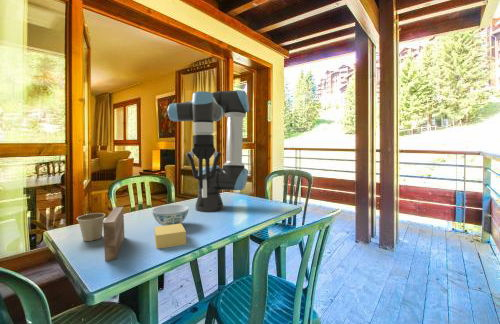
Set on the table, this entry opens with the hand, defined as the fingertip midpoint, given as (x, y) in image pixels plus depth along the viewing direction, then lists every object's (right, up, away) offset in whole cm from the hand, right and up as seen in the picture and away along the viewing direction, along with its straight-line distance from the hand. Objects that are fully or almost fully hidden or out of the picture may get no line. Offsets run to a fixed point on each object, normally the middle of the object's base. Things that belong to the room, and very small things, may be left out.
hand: (204, 196), depth 99 cm
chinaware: (-17, -15, +15) cm, 27 cm away
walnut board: (-29, -17, -9) cm, 35 cm away
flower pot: (-43, -16, +1) cm, 46 cm away
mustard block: (-12, -16, -3) cm, 21 cm away
